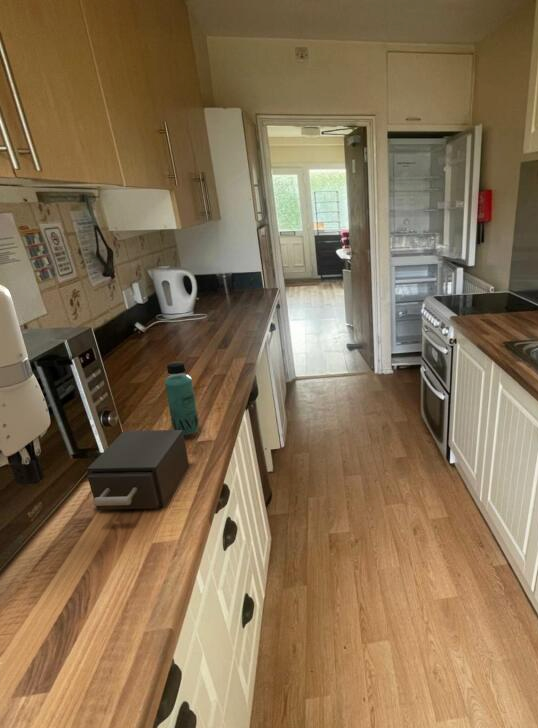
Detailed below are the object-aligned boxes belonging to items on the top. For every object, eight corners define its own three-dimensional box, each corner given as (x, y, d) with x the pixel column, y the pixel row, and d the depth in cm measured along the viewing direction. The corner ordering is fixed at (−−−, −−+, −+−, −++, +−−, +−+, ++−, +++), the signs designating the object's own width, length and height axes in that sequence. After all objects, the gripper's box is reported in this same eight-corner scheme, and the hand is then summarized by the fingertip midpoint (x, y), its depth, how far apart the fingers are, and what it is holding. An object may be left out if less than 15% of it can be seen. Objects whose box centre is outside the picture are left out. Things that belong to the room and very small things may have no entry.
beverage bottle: (168, 438, 110) (153, 366, 102) (185, 426, 116) (172, 357, 108) (190, 442, 109) (177, 369, 101) (206, 430, 115) (195, 360, 107)
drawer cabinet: (164, 507, 86) (155, 467, 82) (98, 509, 85) (86, 468, 81) (189, 465, 99) (182, 429, 96) (133, 467, 98) (124, 430, 95)
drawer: (148, 523, 80) (139, 489, 77) (84, 525, 79) (73, 491, 76) (182, 468, 97) (176, 439, 94) (129, 469, 96) (122, 439, 93)
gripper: (7, 354, 66) (37, 454, 74) (-82, 394, 53) (-34, 512, 60) (59, 355, 67) (83, 455, 74) (-16, 396, 53) (23, 513, 61)
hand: (31, 480), depth 67 cm, fingers closed
